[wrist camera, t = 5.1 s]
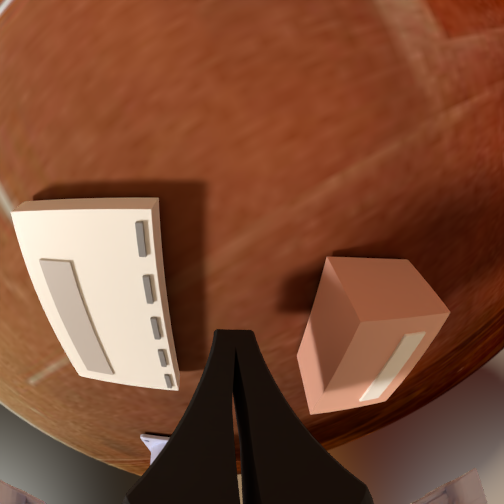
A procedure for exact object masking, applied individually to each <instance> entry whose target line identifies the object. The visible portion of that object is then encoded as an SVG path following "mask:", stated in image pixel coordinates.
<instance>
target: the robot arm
mask: <svg viewBox="0 0 504 504" xmlns="http://www.w3.org/2000/svg"><path fill="white" fill-rule="evenodd" d="M232 393H233V397H234V405H235V412H236V419H237V426H238V433H239V441H240V456H241V476H242V495H243V496H242V497H243V504H374V503H373V499H372V497H371V494H370V492H369V490H368V487H367V486H366V485H365V484H364V483H363V482H362V481H360V480H359V479H358V478H356V477H355V476H354V475H353V474H351V473H350V472H349V471H348V470H347V469H345V468H344V467H343V466H342V465H341V464H340V463H339V462H338V461H336V460H335V459H334V458H333V457H332V456H331V455H330V454H329V453H328V452H327V451H326V450H325V449H324V448H323V447H322V445H321V444H320V443H319V442H318V441H317V440H316V439H315V438H314V437H313V436H312V435H311V433H310V432H309V431H308V430H307V428H306V427H305V426H304V425H303V424H302V422H301V421H300V420H299V418H298V417H297V416H296V414H295V413H294V411H293V410H292V408H291V407H290V405H289V404H288V402H287V401H286V399H285V398H284V396H283V394H282V393H281V391H280V389H279V388H278V386H277V384H276V382H275V381H274V379H273V377H272V375H271V373H270V371H269V369H268V367H267V365H266V363H265V361H264V358H263V356H262V354H261V352H260V349H259V346H258V344H257V341H256V338H255V335H254V332H253V331H252V330H223V329H217V330H215V331H214V337H213V342H212V347H211V351H210V354H209V357H208V360H207V363H206V366H205V369H204V371H203V374H202V377H201V379H200V382H199V384H198V386H197V388H196V391H195V393H194V395H193V397H192V399H191V401H190V403H189V405H188V407H187V409H186V411H185V413H184V415H183V417H182V419H181V420H180V422H179V424H178V426H177V427H176V429H175V430H174V432H173V434H172V435H171V437H163V436H155V435H148V434H141V439H142V441H143V442H144V443H145V445H146V446H147V447H148V448H149V450H150V451H151V463H150V466H149V468H148V469H147V470H146V472H145V473H144V474H143V475H142V476H141V478H140V479H139V480H138V481H137V482H136V483H135V484H134V486H132V488H131V489H130V490H129V491H128V492H127V493H126V496H125V498H124V500H123V502H122V504H240V497H239V488H238V480H237V468H236V457H235V445H234V431H233V415H232ZM0 504H46V503H45V502H44V501H42V500H40V499H38V498H36V497H34V496H32V495H30V494H28V493H27V492H25V491H22V490H20V489H18V488H15V487H13V486H11V485H9V484H7V483H5V482H3V481H2V480H0ZM410 504H487V501H486V497H485V494H484V490H483V487H482V484H481V481H480V478H479V475H478V472H477V469H476V468H474V469H472V470H471V471H469V472H467V473H466V474H464V475H462V476H460V477H459V478H457V479H455V480H453V481H450V482H448V483H446V484H444V485H442V486H440V487H438V488H436V489H435V490H433V491H431V492H429V493H427V494H426V495H425V496H424V497H423V498H421V499H419V500H416V501H414V502H413V503H410Z"/></svg>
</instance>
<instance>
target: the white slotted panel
mask: <svg viewBox="0 0 504 504" xmlns="http://www.w3.org/2000/svg"><path fill="white" fill-rule="evenodd" d="M11 215H12V219H13V223H14V227H15V231H16V234H17V238H18V241H19V245H20V248H21V251H22V254H23V257H24V260H25V263H26V266H27V269H28V272H29V275H30V277H31V280H32V283H33V285H34V288H35V290H36V293H37V295H38V297H39V300H40V302H41V304H42V307H43V309H44V311H45V313H46V315H47V317H48V320H49V322H50V324H51V326H52V328H53V330H54V332H55V334H56V336H57V338H58V339H59V341H60V343H61V345H62V347H63V349H64V350H65V352H66V354H67V356H68V357H69V359H70V361H71V363H72V364H73V366H74V368H75V369H76V371H77V372H78V374H79V376H83V377H87V378H92V379H97V380H102V381H108V382H113V383H119V384H126V385H133V386H140V387H148V388H156V389H166V390H179V380H180V373H179V368H178V363H177V357H176V352H175V346H174V340H173V334H172V328H171V321H170V314H169V307H168V300H167V292H166V283H165V274H164V265H163V254H162V243H161V229H160V213H159V198H80V199H56V200H38V201H25V202H23V203H22V204H21V205H19V206H18V207H17V208H15V209H14V210H13V211H11Z"/></svg>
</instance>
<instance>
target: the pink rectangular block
mask: <svg viewBox="0 0 504 504" xmlns="http://www.w3.org/2000/svg"><path fill="white" fill-rule="evenodd" d="M449 314H450V311H449V310H448V308H447V307H446V306H445V304H444V303H443V302H442V300H441V299H440V298H439V297H438V295H437V294H436V293H435V292H434V290H433V289H432V288H431V287H430V285H429V284H428V283H427V282H426V280H425V279H424V278H423V277H422V276H421V274H420V273H419V272H418V271H417V270H416V269H415V267H414V266H413V265H412V264H411V263H410V262H409V260H408V259H381V258H353V257H327V258H326V261H325V265H324V269H323V272H322V276H321V280H320V283H319V287H318V290H317V294H316V297H315V300H314V304H313V307H312V310H311V314H310V317H309V320H308V323H307V326H306V330H305V333H304V336H303V339H302V342H301V345H300V348H299V351H298V354H297V358H298V363H299V367H300V371H301V376H302V380H303V384H304V389H305V393H306V398H307V402H308V407H309V411H310V415H311V414H319V413H326V412H333V411H339V410H345V409H350V408H356V407H361V406H366V405H370V404H375V403H379V402H384V401H386V400H387V399H388V398H389V397H390V396H391V394H392V393H393V392H394V391H395V390H396V389H397V387H398V386H399V385H400V384H401V382H402V381H403V380H404V379H405V378H406V376H407V375H408V374H409V372H410V371H411V370H412V369H413V367H414V366H415V365H416V363H417V362H418V361H419V359H420V358H421V356H422V355H423V354H424V352H425V351H426V349H427V348H428V347H429V345H430V344H431V342H432V341H433V339H434V338H435V336H436V335H437V333H438V332H439V330H440V329H441V327H442V325H443V324H444V322H445V321H446V319H447V317H448V316H449Z"/></svg>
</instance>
